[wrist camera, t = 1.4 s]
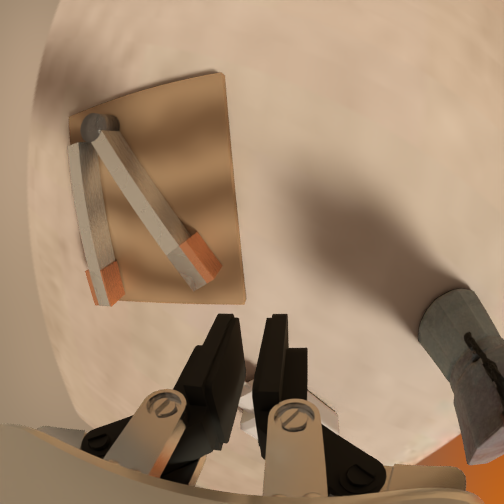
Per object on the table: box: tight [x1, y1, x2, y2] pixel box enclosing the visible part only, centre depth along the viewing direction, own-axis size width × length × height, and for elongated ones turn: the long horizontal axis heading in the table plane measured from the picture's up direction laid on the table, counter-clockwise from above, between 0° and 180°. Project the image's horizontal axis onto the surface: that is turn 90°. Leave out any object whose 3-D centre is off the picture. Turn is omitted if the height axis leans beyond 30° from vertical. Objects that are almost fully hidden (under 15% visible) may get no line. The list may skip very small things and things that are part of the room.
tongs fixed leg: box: [67, 142, 125, 307], centre depth 26 cm, size 17×2×3 cm, turn 5°
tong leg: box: [80, 113, 222, 292], centre depth 24 cm, size 19×3×3 cm, turn 35°
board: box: [69, 72, 246, 305], centre depth 27 cm, size 22×18×1 cm
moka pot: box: [418, 289, 504, 465], centre depth 18 cm, size 10×15×20 cm, turn 49°
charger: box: [238, 379, 339, 440], centre depth 32 cm, size 5×9×15 cm
